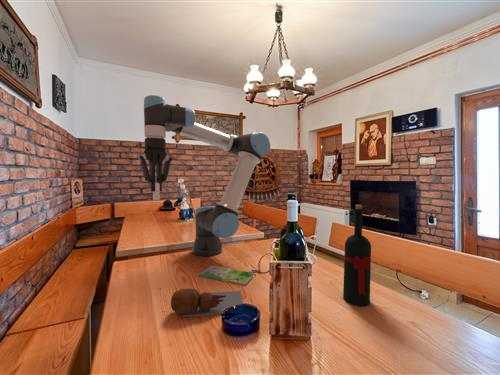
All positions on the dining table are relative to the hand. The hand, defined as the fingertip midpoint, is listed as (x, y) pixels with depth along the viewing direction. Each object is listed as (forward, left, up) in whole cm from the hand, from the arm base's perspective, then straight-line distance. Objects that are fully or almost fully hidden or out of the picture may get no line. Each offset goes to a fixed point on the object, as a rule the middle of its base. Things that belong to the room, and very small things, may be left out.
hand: (156, 199), depth 94 cm
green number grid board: (-19, +20, -30) cm, 41 cm away
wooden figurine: (+9, +29, -26) cm, 40 cm away
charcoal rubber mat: (-3, +33, -29) cm, 45 cm away
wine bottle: (-36, +63, -30) cm, 78 cm away
